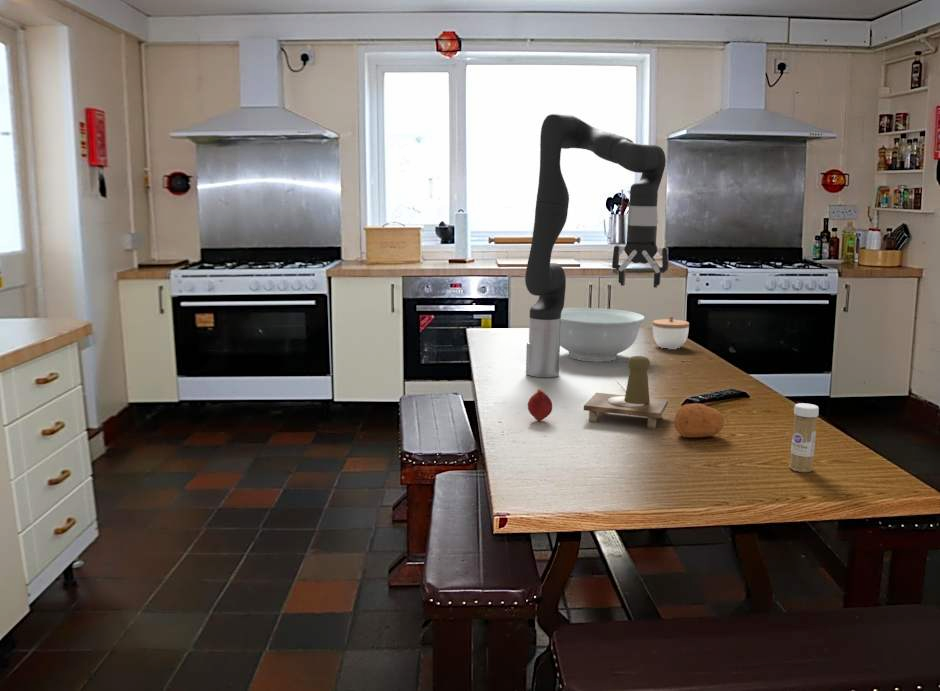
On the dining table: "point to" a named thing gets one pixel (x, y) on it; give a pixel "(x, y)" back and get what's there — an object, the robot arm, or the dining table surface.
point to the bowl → (598, 332)
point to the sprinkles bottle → (803, 437)
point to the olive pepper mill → (638, 381)
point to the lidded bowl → (670, 332)
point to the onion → (540, 405)
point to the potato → (698, 421)
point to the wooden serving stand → (625, 407)
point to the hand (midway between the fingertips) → (639, 286)
